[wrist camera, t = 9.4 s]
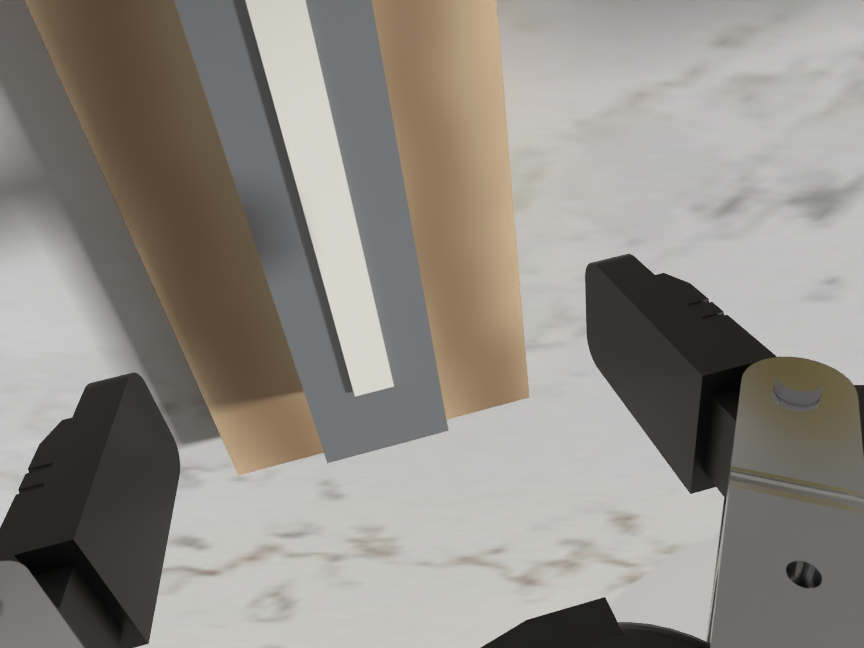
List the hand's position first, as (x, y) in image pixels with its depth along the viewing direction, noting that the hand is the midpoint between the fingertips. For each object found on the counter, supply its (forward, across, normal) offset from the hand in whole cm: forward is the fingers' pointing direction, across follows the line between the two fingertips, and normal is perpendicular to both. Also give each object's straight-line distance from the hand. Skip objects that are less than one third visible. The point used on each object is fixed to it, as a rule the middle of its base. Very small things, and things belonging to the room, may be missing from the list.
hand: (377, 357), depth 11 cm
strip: (+12, 0, 0) cm, 12 cm away
